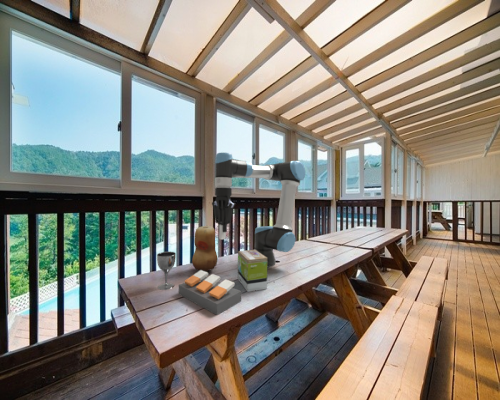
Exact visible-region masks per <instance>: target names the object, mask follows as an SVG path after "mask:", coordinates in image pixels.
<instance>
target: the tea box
mask: <svg viewBox="0 0 500 400" xmlns="http://www.w3.org/2000/svg"><path fill="white" fill-rule="evenodd" d="M237 280H238V281H239V282H240V283H241V285H242V287H243V288H244V289H245V291H246V292H247V293H249V291H250V292H255V290H256V291H262V290H267V289H268V266H267V257H265V256H264V255H262V254H261V253H259V252H258V251H257V250H255V249H249V250H238V251H237Z"/></svg>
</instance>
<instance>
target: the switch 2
mask: <svg viewBox="0 0 500 400" xmlns="http://www.w3.org/2000/svg"><path fill="white" fill-rule="evenodd" d="M235 285H236V284H235V282H234V281H231V280H229V279H224V280H223V281H221V282H220V284H219V285H218V286H216V287H215V288H214V289H213V290H211V291H210V292H209V295H210V296H212V297H215V298H217V299H220V298H221V297H222V296H223V295H224V294H226V293H227V292H228V291H229V290H230V289H231V288H235Z"/></svg>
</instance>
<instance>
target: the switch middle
mask: <svg viewBox="0 0 500 400" xmlns="http://www.w3.org/2000/svg"><path fill="white" fill-rule="evenodd" d="M221 279H222V278H221V276H219V275H216V274H214V273H212V274H210V275H208V276H207V279H205V280H204V281H203V282H201V283H200V284H199V285H198V286H196V289H197V290H199V291H201V292H203V293H205V292H207V291H208V290H209V289H210V288H212V287H213V286H214V285H215V284H216V283H217V282H220V280H221Z"/></svg>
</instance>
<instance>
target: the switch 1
mask: <svg viewBox="0 0 500 400" xmlns="http://www.w3.org/2000/svg"><path fill="white" fill-rule="evenodd" d="M205 277H207V278H208V277H209V272H208V271H207V272H205V271H202V270H200V271H199V270H198V271H197V272H195V273H194V274H192V275H191V276H190V277H188V278H186V279H185V280H184V281H183V283H185V284H187V285H189V286H194V285H195V284H197V283H198V282H201V280H202V279H204V278H205Z"/></svg>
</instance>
